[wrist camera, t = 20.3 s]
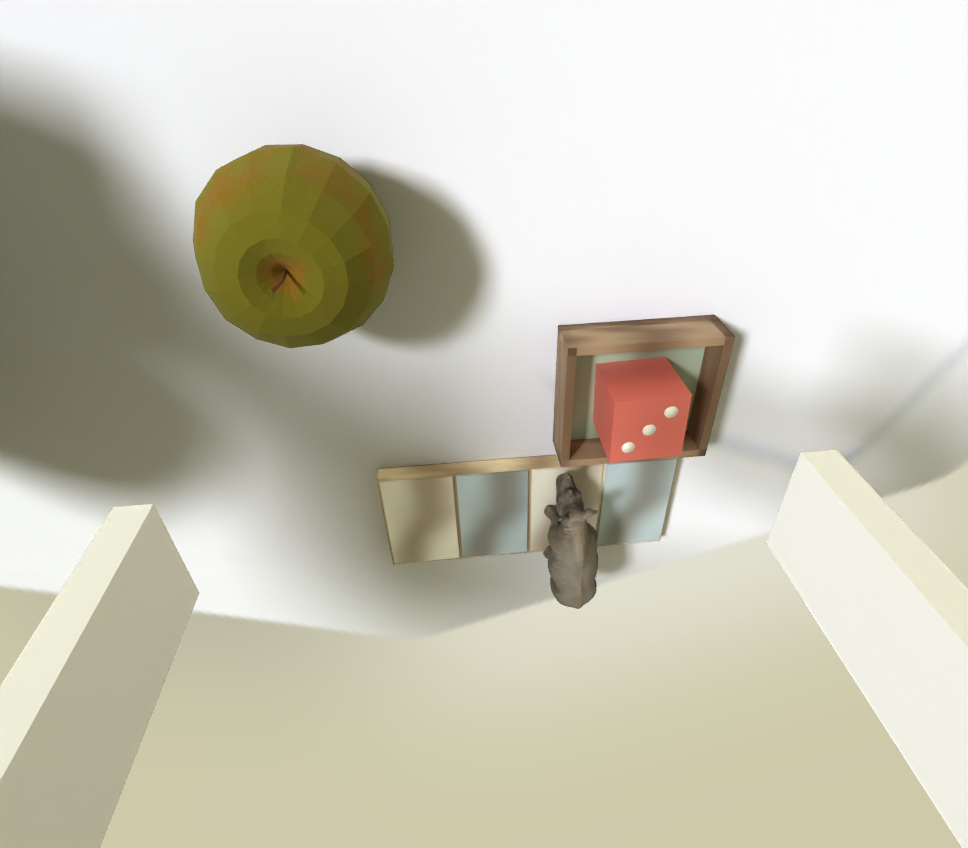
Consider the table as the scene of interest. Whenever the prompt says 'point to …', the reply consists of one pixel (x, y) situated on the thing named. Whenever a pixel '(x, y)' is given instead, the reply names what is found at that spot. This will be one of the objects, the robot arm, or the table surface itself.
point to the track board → (515, 505)
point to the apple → (292, 245)
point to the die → (640, 409)
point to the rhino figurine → (571, 546)
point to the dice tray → (682, 340)
